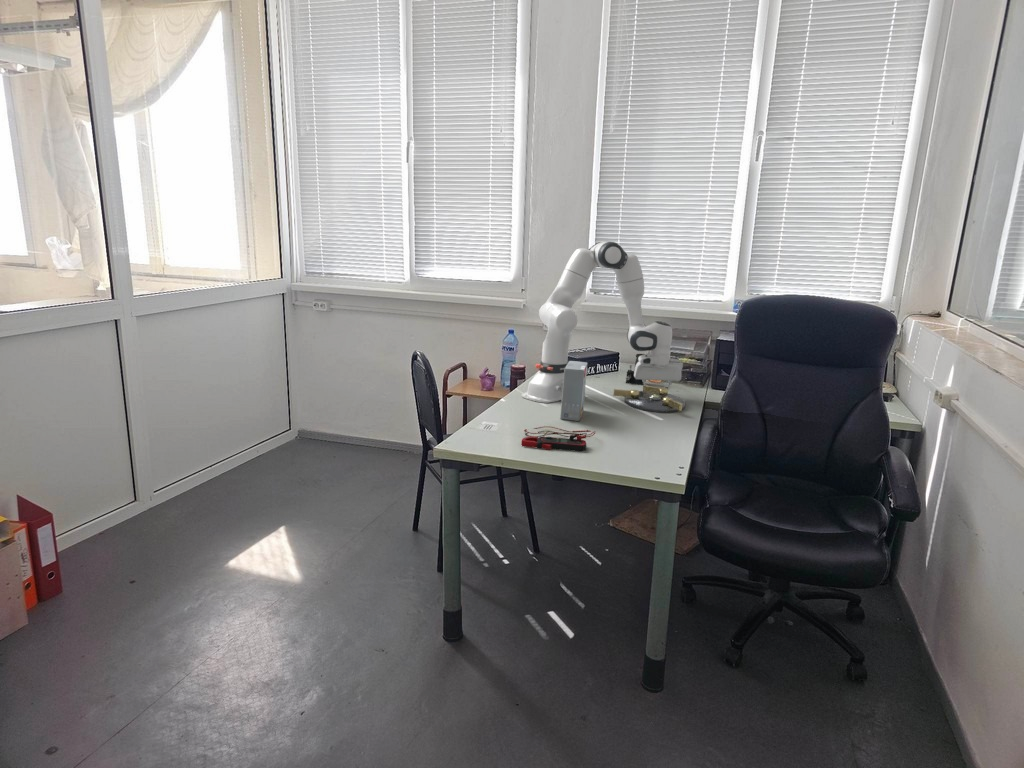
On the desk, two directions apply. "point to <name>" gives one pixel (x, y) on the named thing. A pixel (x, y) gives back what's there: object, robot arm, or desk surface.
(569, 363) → the hard drive box
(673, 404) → the knob
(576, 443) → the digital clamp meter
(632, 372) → the scope
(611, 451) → the desk surface
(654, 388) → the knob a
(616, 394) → the knob
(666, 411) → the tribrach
